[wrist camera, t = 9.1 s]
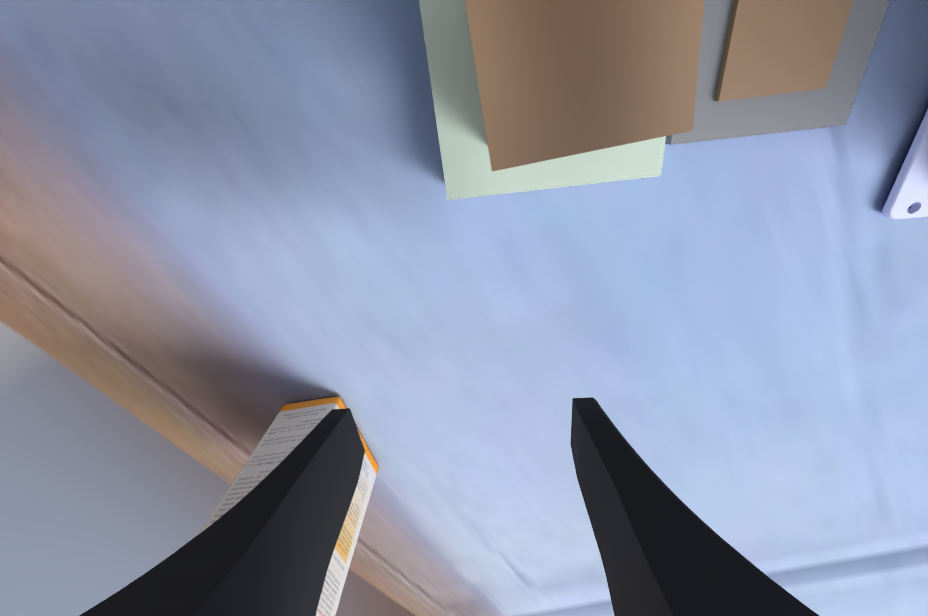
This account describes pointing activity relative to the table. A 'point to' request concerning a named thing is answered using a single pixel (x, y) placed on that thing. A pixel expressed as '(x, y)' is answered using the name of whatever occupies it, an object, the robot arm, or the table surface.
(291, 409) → the supplement box
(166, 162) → the table surface
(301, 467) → the robot arm
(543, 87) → the walnut block
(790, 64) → the tile
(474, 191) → the green block
